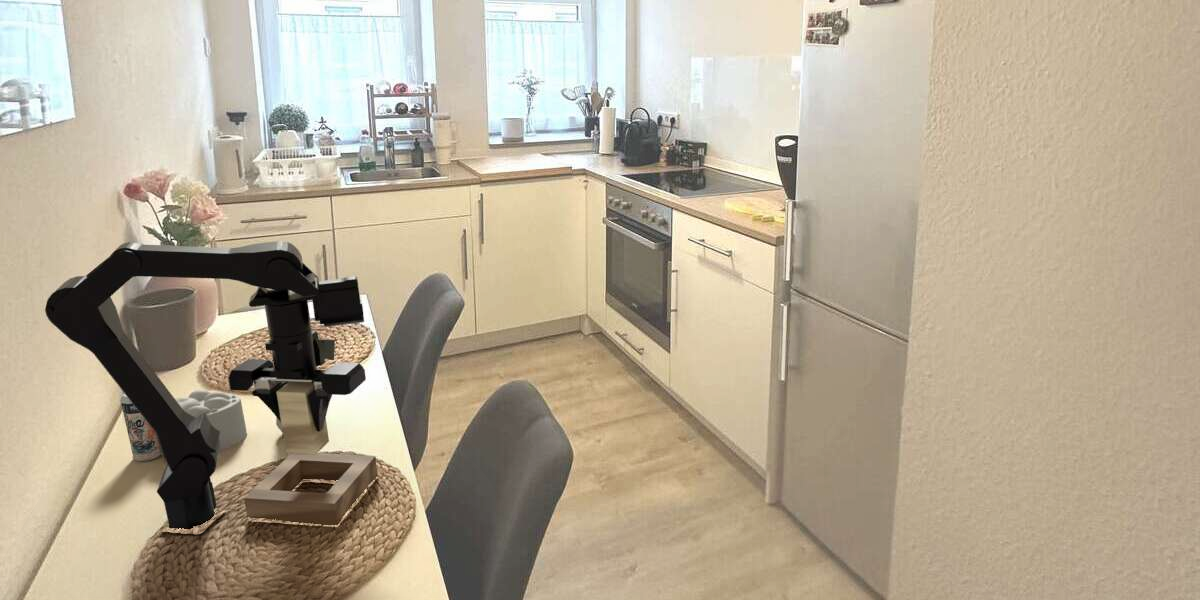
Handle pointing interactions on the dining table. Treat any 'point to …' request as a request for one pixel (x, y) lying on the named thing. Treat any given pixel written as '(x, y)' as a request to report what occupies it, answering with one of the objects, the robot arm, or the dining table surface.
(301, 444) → the birch peg
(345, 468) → the socket block
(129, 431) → the beer can
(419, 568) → the dining table surface
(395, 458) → the dining table surface
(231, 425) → the lumpy-topped squat cylinder
